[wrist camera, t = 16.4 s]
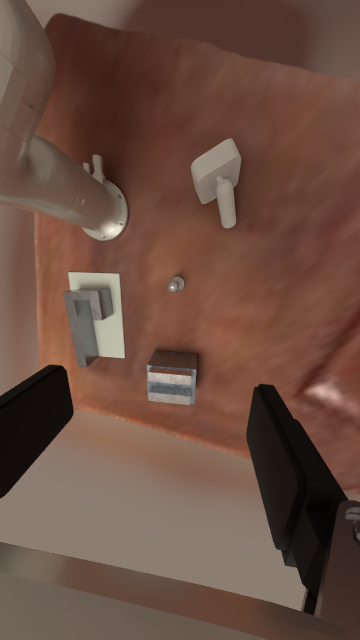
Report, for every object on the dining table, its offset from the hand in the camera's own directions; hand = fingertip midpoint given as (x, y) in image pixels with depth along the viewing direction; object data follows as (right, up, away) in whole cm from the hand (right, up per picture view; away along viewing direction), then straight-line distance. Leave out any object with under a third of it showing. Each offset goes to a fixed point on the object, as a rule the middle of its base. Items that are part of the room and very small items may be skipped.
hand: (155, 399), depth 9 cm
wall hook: (+10, +30, +30) cm, 44 cm away
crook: (-21, +3, +42) cm, 47 cm away
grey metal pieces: (0, -1, +40) cm, 40 cm away
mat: (-22, +5, +41) cm, 47 cm away
